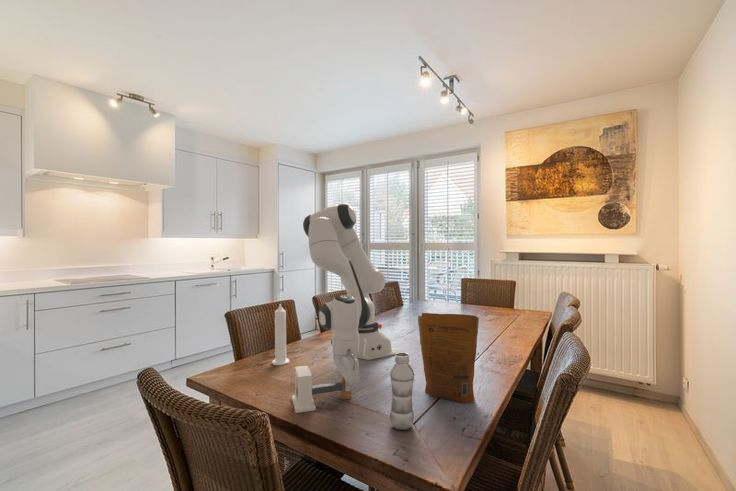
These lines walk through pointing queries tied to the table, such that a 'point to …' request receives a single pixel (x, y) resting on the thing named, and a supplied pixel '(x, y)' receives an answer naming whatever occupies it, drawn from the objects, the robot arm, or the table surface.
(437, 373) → the pancake mix bag
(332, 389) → the wooden mallet
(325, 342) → the table surface
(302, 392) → the block
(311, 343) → the table surface
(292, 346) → the table surface
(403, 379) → the plastic bottle
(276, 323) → the candle
